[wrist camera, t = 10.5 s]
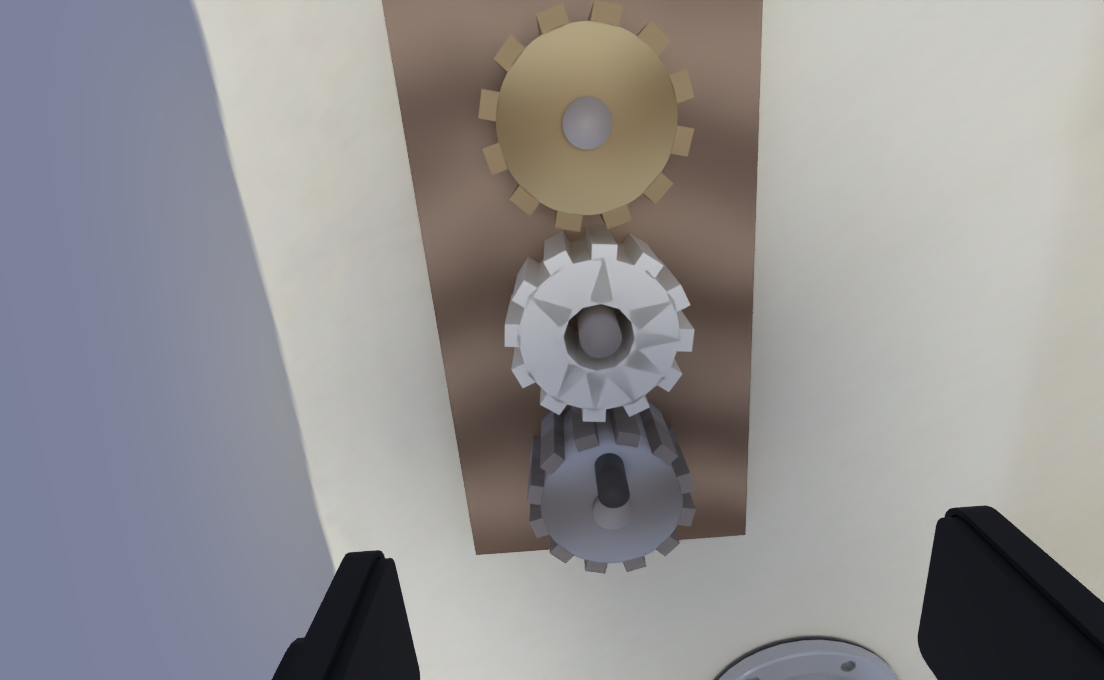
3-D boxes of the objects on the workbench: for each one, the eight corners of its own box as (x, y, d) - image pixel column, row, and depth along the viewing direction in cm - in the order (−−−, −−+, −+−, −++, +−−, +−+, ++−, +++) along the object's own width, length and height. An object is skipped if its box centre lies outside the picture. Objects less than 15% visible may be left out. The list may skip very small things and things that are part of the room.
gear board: (736, 516, 31) (790, 630, 24) (479, 535, 32) (459, 653, 25) (751, -45, 22) (843, -122, 15) (390, -7, 23) (317, -66, 16)
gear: (640, 396, 27) (655, 440, 23) (493, 356, 26) (484, 395, 23) (696, 253, 25) (722, 276, 21) (537, 204, 24) (534, 219, 20)
